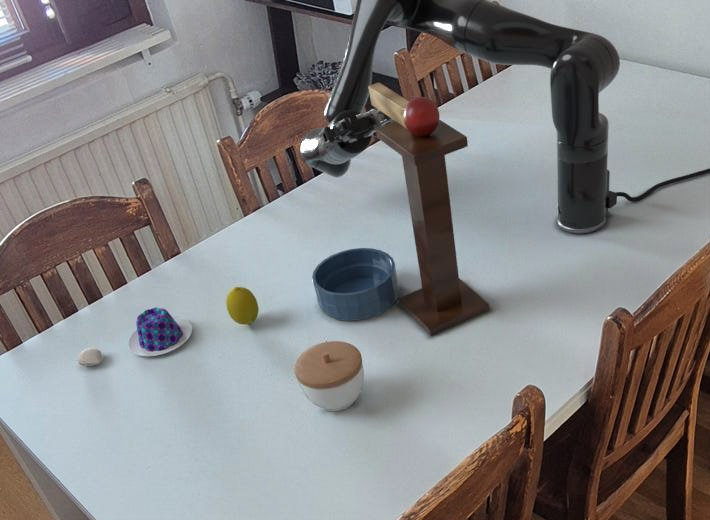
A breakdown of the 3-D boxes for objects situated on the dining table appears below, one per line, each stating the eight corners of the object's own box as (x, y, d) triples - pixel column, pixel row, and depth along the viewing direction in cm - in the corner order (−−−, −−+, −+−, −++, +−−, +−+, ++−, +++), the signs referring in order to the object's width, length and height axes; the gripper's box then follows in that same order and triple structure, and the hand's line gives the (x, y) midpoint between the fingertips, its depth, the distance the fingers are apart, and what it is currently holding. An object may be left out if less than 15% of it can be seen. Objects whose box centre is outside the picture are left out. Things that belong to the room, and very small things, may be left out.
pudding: (206, 333, 150) (196, 309, 146) (153, 367, 145) (141, 344, 141) (169, 312, 157) (160, 289, 153) (117, 344, 151) (105, 321, 147)
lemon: (257, 333, 148) (245, 296, 142) (229, 333, 149) (216, 296, 144) (267, 315, 152) (255, 278, 146) (240, 315, 153) (227, 278, 147)
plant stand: (398, 303, 149) (366, 131, 126) (454, 280, 152) (433, 107, 129) (432, 338, 141) (405, 159, 118) (490, 312, 144) (475, 133, 121)
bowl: (363, 266, 159) (358, 239, 155) (416, 293, 151) (411, 264, 146) (303, 303, 153) (295, 276, 149) (354, 333, 145) (348, 305, 140)
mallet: (448, 134, 122) (443, 98, 118) (416, 146, 120) (411, 109, 116) (391, 97, 134) (385, 63, 130) (362, 108, 132) (355, 73, 128)
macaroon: (96, 352, 150) (90, 342, 148) (112, 361, 148) (106, 350, 146) (77, 365, 148) (71, 354, 146) (92, 374, 146) (86, 363, 144)
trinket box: (305, 383, 136) (291, 338, 130) (368, 373, 136) (358, 327, 129) (305, 426, 129) (290, 380, 122) (371, 415, 129) (360, 369, 122)
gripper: (304, 128, 150) (324, 106, 135) (372, 104, 153) (399, 80, 138) (320, 169, 152) (341, 152, 137) (387, 144, 155) (415, 125, 141)
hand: (371, 116), depth 138 cm, fingers open, 8 cm apart
